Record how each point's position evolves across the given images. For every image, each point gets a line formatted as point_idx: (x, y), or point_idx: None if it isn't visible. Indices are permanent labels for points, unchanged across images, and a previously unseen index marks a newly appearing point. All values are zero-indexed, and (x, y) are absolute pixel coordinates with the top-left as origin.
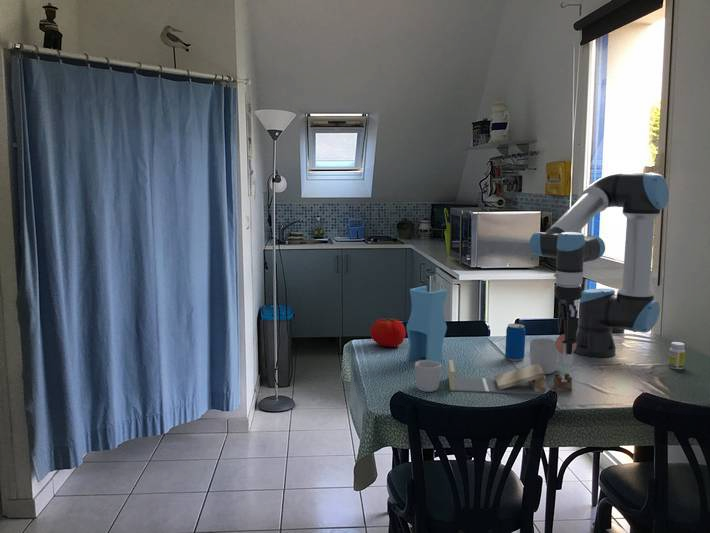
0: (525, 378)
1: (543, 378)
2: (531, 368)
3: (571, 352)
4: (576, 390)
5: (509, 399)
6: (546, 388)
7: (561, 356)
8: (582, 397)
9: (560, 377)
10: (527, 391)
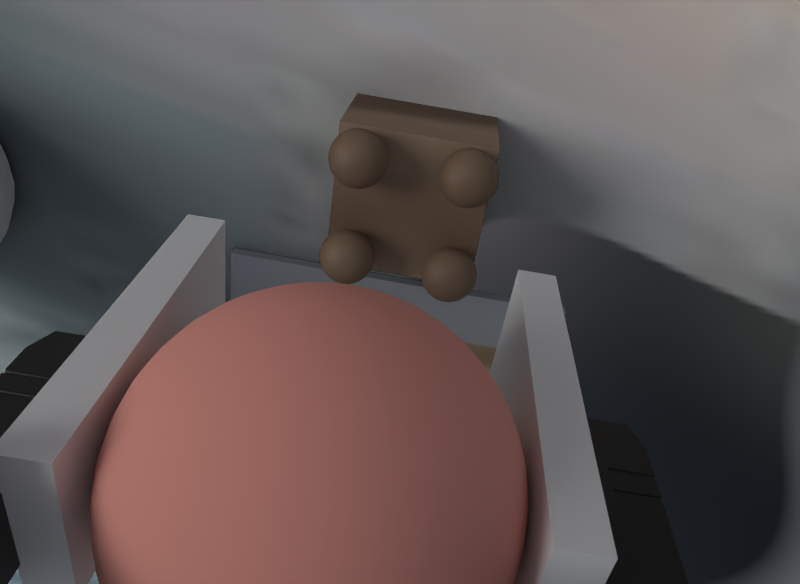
0: None
1: None
2: None
3: (645, 461)
4: (460, 50)
5: None
6: (429, 312)
7: (221, 303)
8: (663, 74)
9: (469, 280)
10: None
